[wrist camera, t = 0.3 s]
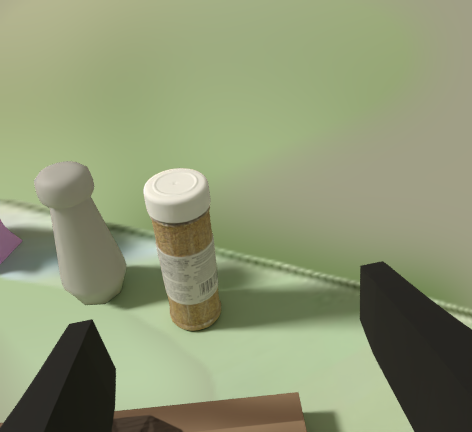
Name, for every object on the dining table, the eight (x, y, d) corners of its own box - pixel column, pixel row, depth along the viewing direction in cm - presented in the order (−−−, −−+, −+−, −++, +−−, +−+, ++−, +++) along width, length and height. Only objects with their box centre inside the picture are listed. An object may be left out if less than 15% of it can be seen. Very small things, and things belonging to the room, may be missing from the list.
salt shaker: (96, 261, 45) (58, 146, 37) (143, 277, 43) (113, 158, 35) (54, 302, 41) (3, 182, 33) (104, 321, 38) (61, 197, 31)
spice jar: (201, 285, 41) (183, 159, 33) (232, 313, 38) (221, 181, 30) (159, 312, 39) (129, 182, 31) (190, 343, 36) (166, 209, 28)
